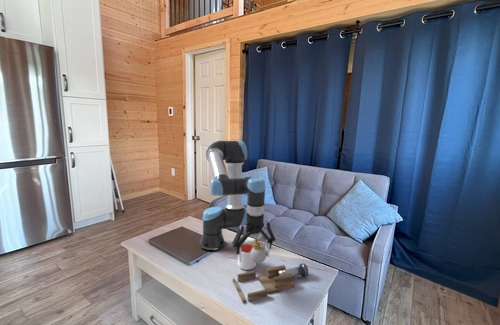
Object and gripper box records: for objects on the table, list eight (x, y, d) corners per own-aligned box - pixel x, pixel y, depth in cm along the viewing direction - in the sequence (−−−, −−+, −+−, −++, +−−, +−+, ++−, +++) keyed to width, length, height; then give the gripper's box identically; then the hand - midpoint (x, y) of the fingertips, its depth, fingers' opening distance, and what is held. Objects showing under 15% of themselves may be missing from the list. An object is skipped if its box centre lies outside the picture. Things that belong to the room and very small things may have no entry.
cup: (254, 272, 121) (255, 254, 120) (235, 269, 123) (235, 251, 122) (257, 261, 131) (258, 244, 129) (240, 259, 133) (240, 242, 131)
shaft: (275, 277, 117) (276, 266, 116) (301, 271, 122) (302, 261, 121) (281, 285, 112) (282, 273, 111) (308, 278, 117) (308, 267, 116)
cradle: (232, 281, 114) (232, 271, 113) (280, 270, 123) (281, 261, 123) (242, 303, 100) (243, 292, 99) (296, 289, 109) (296, 279, 108)
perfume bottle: (248, 264, 109) (244, 240, 106) (258, 252, 117) (254, 230, 114) (262, 267, 105) (258, 242, 102) (272, 255, 113) (268, 232, 111)
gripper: (230, 220, 96) (229, 267, 100) (284, 213, 105) (281, 257, 109) (225, 213, 103) (224, 257, 107) (276, 207, 112) (274, 249, 116)
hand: (253, 257), depth 108 cm, fingers open, 13 cm apart
